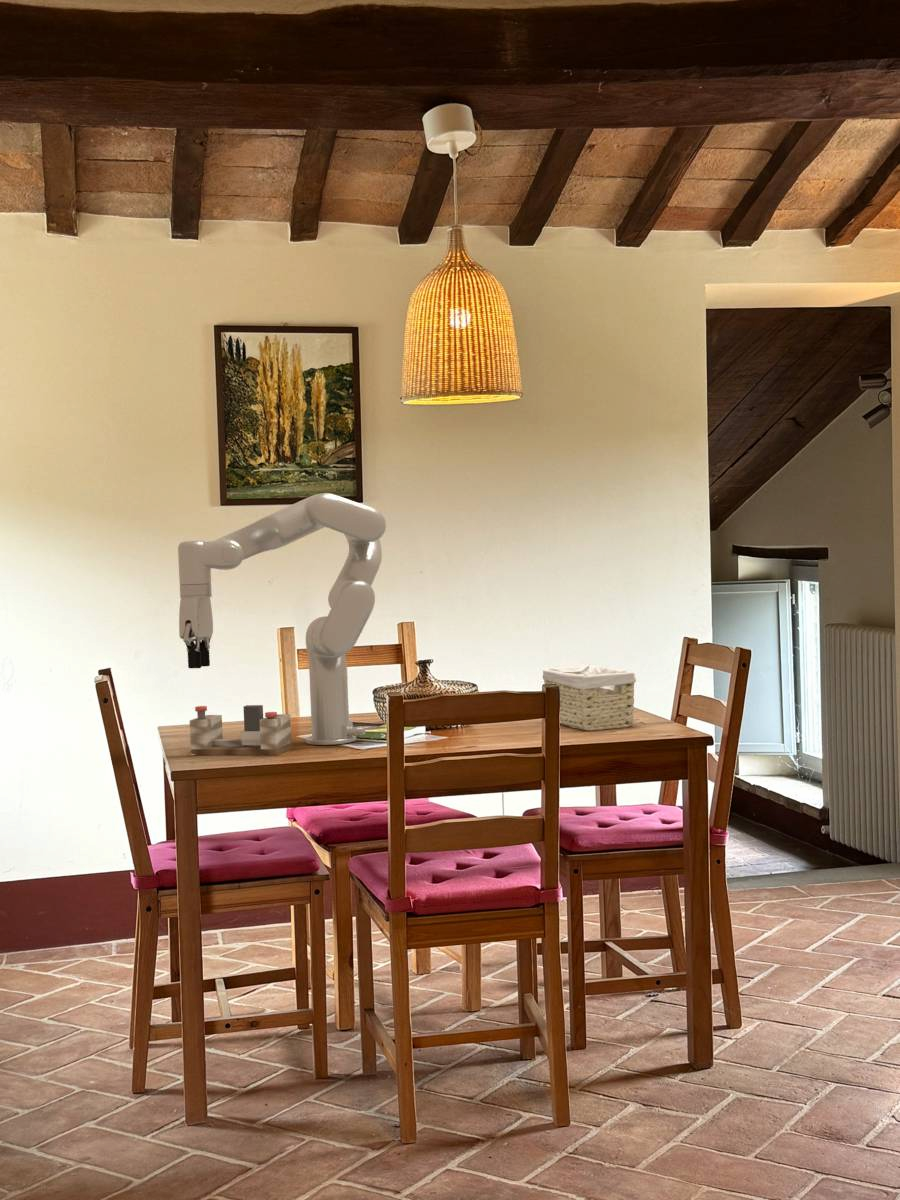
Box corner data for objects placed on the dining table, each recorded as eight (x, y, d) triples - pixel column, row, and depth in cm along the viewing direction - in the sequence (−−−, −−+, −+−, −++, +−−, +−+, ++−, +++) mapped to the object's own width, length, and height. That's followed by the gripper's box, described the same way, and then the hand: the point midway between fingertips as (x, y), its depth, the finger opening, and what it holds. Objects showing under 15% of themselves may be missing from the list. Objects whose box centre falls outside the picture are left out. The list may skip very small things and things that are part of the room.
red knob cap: (279, 728, 311) (278, 711, 311) (275, 729, 309) (274, 713, 309) (268, 728, 312) (267, 711, 312) (263, 730, 309) (263, 713, 309)
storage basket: (640, 727, 332) (638, 670, 331) (583, 733, 326) (581, 674, 325) (595, 717, 354) (593, 664, 354) (541, 722, 348) (540, 668, 348)
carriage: (268, 742, 316) (266, 704, 316) (260, 745, 311) (258, 706, 311) (249, 742, 317) (247, 704, 317) (241, 745, 312) (239, 707, 312)
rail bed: (291, 748, 317) (290, 714, 317) (276, 755, 308) (275, 719, 307) (208, 748, 323) (206, 714, 322) (191, 755, 313) (189, 720, 312)
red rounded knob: (209, 722, 316) (208, 705, 315) (204, 723, 313) (203, 707, 313) (198, 722, 316) (198, 706, 316) (193, 723, 313) (193, 707, 313)
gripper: (196, 591, 322) (199, 664, 323) (166, 593, 306) (169, 670, 307) (224, 590, 321) (227, 663, 321) (195, 592, 304) (199, 670, 305)
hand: (199, 666), depth 314 cm, fingers open, 4 cm apart
